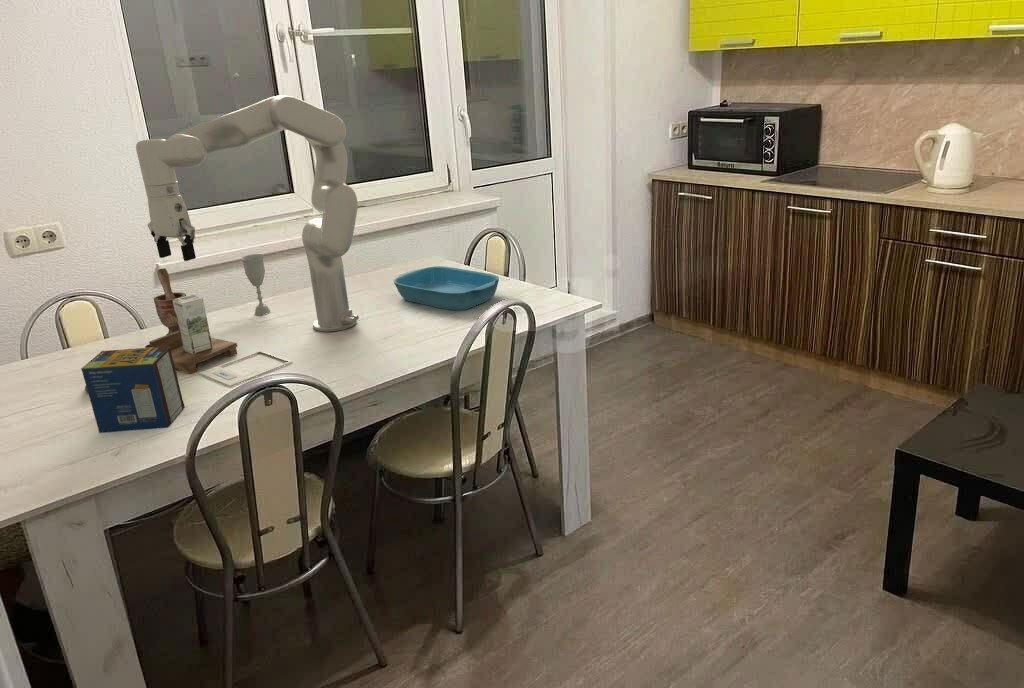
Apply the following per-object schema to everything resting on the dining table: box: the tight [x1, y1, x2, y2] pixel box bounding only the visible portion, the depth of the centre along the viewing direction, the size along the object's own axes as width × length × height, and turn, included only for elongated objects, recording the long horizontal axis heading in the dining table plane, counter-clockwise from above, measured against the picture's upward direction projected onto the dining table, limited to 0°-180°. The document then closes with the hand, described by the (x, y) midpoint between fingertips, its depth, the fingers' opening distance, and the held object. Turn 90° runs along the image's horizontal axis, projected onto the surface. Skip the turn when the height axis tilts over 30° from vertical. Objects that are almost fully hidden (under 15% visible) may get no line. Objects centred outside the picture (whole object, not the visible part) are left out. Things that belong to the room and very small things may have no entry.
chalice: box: [240, 253, 271, 316], centre depth 238 cm, size 7×7×18 cm
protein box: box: [80, 346, 185, 434], centre depth 169 cm, size 10×15×16 cm
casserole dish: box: [393, 265, 500, 311], centre depth 243 cm, size 37×22×7 cm, turn 50°
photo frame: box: [198, 349, 293, 388], centre depth 197 cm, size 15×1×18 cm
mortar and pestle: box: [153, 268, 187, 336], centre depth 219 cm, size 12×9×20 cm
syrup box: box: [173, 294, 213, 355], centre depth 201 cm, size 6×6×14 cm
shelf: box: [148, 331, 238, 375], centre depth 204 cm, size 14×16×7 cm
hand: (177, 258), depth 195 cm, fingers open, 9 cm apart
